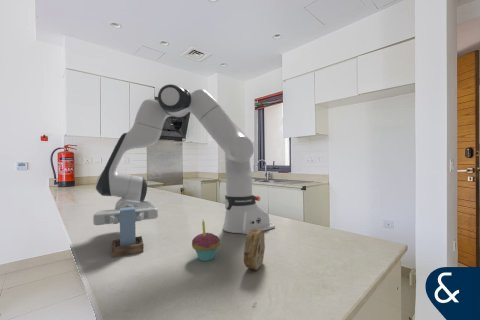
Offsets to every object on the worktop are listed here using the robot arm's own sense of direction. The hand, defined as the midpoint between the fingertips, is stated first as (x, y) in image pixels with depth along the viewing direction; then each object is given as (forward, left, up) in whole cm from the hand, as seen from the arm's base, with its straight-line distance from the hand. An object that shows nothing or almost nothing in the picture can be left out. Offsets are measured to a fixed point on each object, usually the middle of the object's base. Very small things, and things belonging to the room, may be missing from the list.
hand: (127, 220), depth 76 cm
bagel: (-31, +29, -10) cm, 44 cm away
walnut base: (0, -1, -10) cm, 10 cm away
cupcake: (-21, +17, -10) cm, 29 cm away
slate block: (0, -1, -8) cm, 9 cm away
